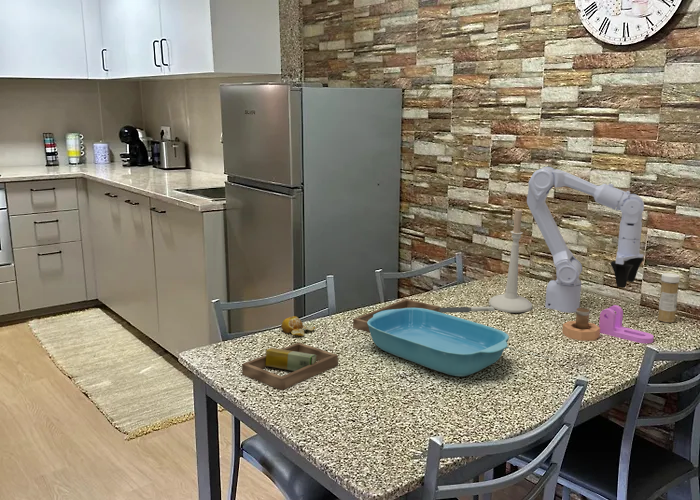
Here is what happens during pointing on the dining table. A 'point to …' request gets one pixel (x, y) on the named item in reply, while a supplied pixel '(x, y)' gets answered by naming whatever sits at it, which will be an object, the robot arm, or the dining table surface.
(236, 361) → the dining table surface
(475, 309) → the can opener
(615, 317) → the bracket
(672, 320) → the sprinkles bottle
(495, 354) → the casserole dish
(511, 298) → the candlestick
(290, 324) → the fruit
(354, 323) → the wagon frame
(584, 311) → the peg
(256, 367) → the box frame
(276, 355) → the medication box
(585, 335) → the orange flat ring
